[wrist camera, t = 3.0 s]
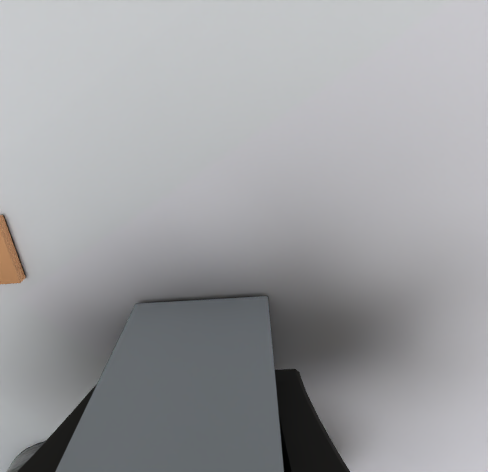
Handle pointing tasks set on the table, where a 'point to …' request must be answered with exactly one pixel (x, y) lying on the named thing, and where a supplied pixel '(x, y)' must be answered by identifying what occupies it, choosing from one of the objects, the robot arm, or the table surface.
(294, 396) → the robot arm
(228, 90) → the table surface
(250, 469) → the block
